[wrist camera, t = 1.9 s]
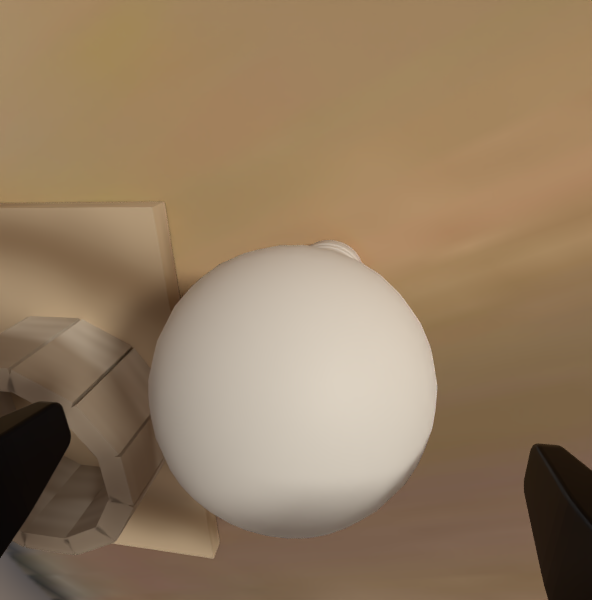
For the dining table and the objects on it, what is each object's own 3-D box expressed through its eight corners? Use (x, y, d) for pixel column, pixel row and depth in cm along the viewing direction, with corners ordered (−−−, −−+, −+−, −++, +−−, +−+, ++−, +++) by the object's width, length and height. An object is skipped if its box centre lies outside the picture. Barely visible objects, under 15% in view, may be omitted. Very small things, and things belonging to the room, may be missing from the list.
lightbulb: (242, 310, 18) (78, 548, 9) (272, 164, 16) (84, 265, 6) (383, 353, 18) (381, 655, 8) (439, 211, 15) (533, 401, 6)
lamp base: (219, 542, 25) (182, 639, 20) (47, 517, 27) (-21, 601, 22) (164, 201, 17) (85, 236, 13) (-70, 203, 19) (-209, 234, 15)
